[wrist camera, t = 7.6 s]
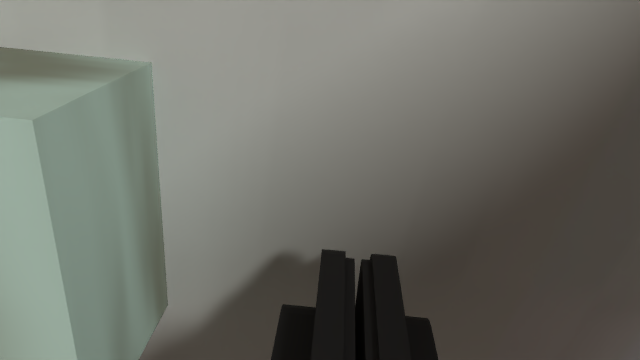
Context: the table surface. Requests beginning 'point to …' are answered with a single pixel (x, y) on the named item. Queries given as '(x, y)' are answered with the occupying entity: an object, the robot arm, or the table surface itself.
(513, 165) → the table surface
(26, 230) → the sage block
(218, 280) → the table surface
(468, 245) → the table surface
